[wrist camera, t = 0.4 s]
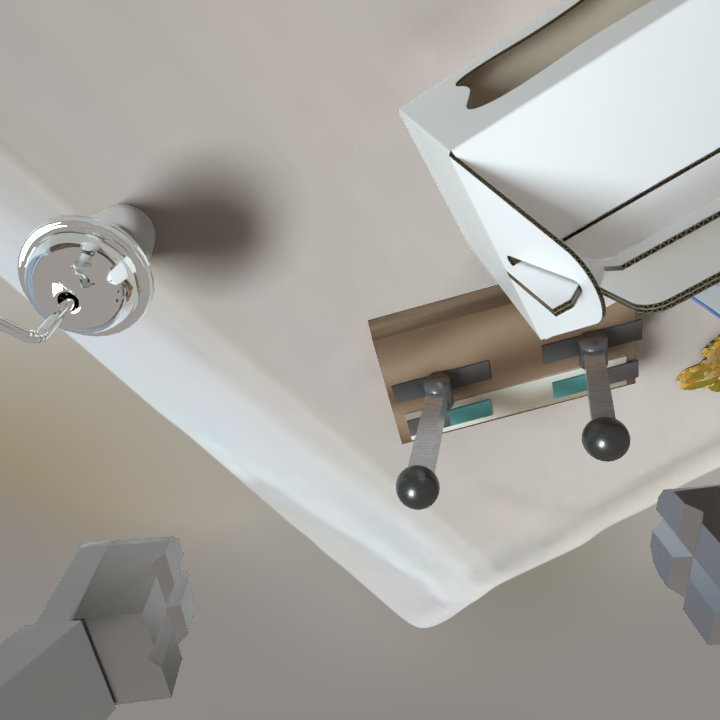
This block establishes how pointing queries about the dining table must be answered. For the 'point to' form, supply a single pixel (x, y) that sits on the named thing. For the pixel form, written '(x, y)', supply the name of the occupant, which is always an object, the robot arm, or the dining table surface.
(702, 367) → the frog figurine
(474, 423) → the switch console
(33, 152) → the dining table surface
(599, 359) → the lever
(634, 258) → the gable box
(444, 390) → the lever
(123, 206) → the cup with straw
